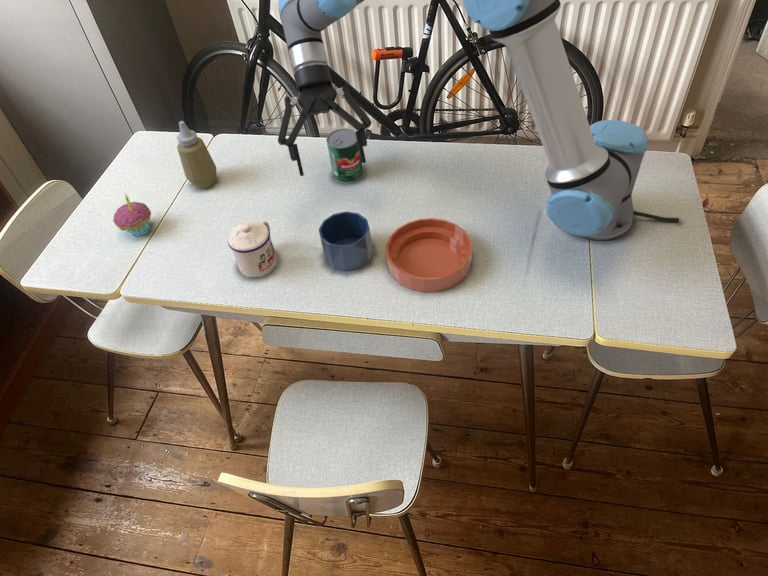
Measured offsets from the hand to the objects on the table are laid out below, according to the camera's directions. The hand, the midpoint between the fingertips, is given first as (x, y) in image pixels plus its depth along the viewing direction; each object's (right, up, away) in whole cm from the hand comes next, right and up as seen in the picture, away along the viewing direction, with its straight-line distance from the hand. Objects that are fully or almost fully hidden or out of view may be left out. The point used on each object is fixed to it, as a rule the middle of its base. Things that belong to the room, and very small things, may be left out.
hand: (333, 168), depth 124 cm
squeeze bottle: (-36, +2, +26) cm, 44 cm away
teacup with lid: (-17, -19, +6) cm, 26 cm away
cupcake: (-48, -12, +16) cm, 52 cm away
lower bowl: (+21, -20, +1) cm, 29 cm away
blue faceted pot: (+3, -18, +5) cm, 19 cm away
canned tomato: (+2, +4, +24) cm, 24 cm away
